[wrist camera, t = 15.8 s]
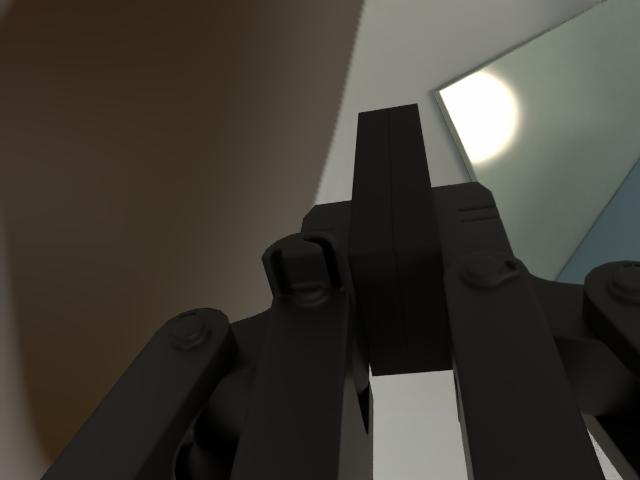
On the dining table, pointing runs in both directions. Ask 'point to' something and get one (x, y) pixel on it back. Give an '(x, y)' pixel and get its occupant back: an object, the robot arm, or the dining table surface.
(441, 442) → the dining table surface
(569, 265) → the shower door
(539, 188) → the shower
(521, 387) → the robot arm
